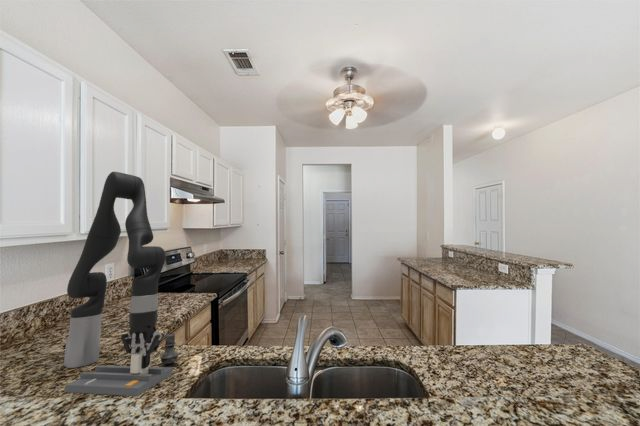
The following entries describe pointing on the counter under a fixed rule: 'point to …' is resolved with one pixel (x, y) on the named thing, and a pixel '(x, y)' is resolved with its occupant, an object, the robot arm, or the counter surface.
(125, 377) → the fader console
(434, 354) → the counter surface
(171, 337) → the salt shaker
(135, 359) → the fader tab
